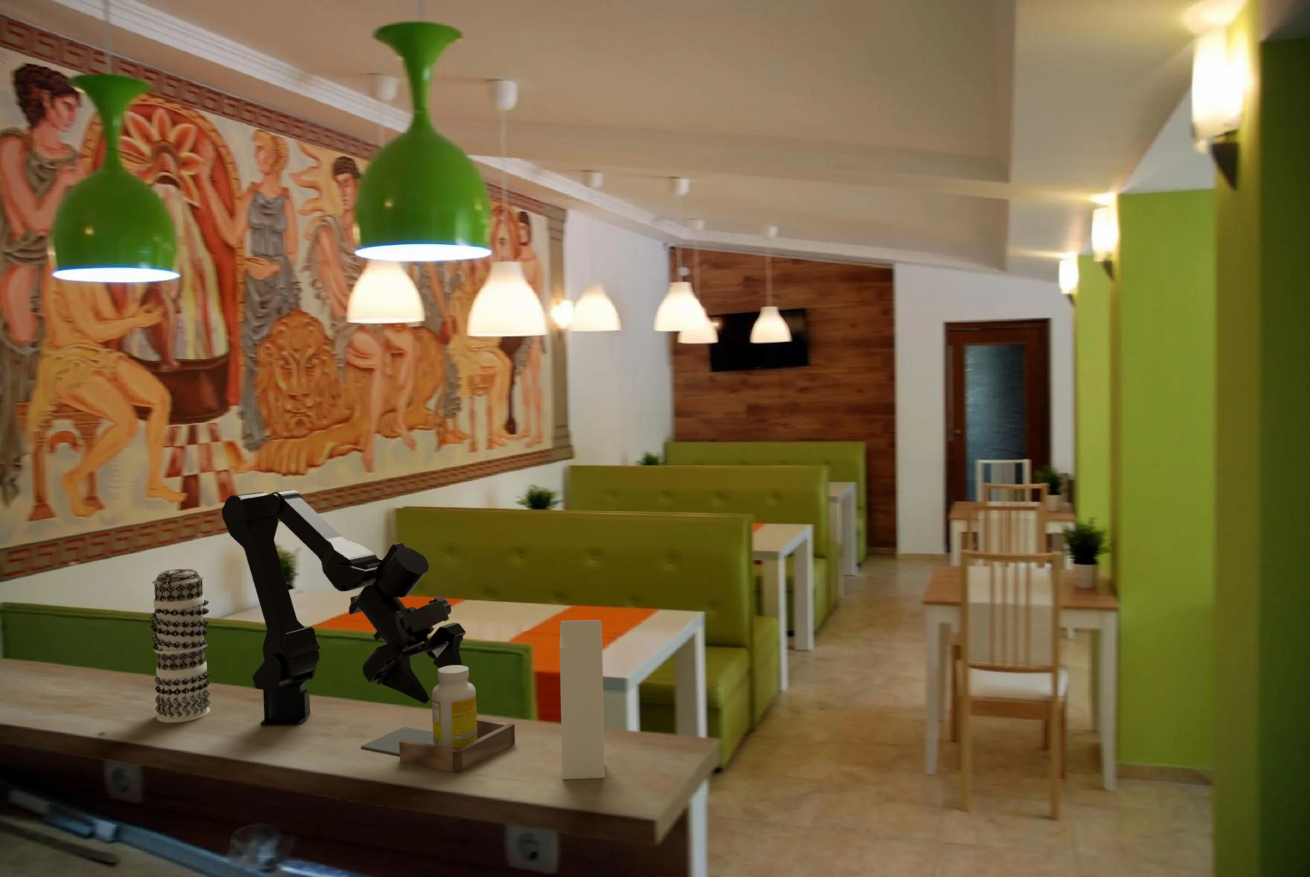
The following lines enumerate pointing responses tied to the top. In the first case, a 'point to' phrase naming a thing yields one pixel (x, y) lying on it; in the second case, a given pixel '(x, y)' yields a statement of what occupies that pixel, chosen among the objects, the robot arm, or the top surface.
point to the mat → (392, 740)
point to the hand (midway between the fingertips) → (447, 693)
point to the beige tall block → (582, 699)
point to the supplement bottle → (454, 708)
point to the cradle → (456, 760)
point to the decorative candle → (180, 646)
